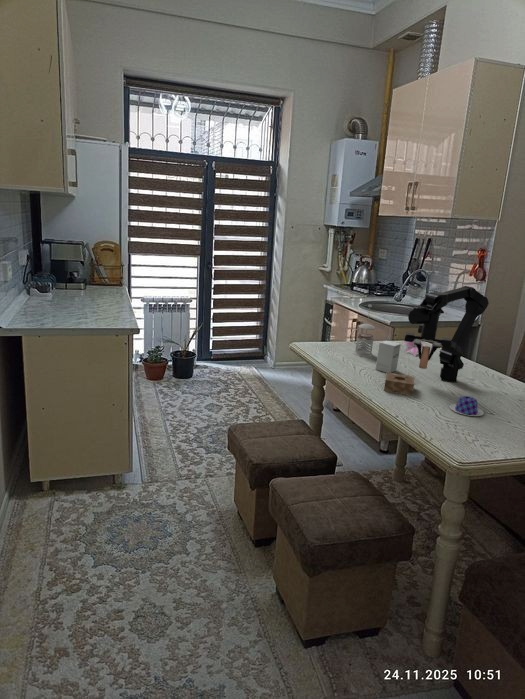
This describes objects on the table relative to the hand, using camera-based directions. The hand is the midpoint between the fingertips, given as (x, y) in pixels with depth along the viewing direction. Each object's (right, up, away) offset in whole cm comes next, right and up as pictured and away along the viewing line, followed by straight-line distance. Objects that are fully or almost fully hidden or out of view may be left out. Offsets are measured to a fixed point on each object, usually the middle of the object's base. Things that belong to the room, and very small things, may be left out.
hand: (424, 359), depth 225 cm
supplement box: (-12, -5, +17) cm, 21 cm away
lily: (+9, +2, +50) cm, 51 cm away
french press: (-19, +2, +40) cm, 45 cm away
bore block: (-13, -12, -8) cm, 19 cm away
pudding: (+8, -19, -26) cm, 33 cm away
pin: (0, -3, +1) cm, 4 cm away
